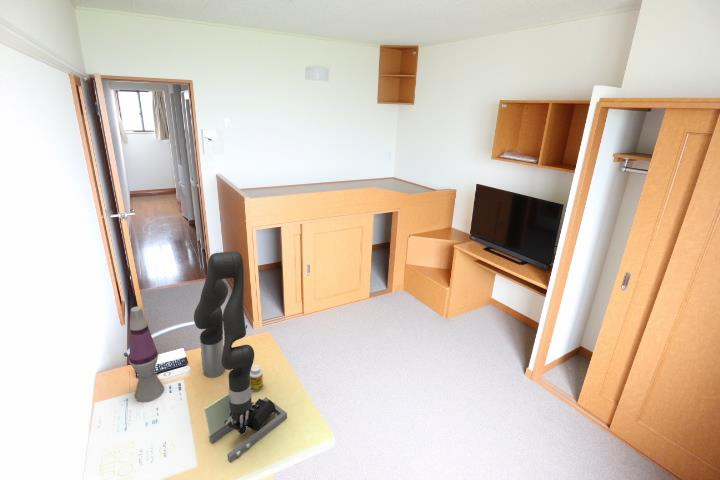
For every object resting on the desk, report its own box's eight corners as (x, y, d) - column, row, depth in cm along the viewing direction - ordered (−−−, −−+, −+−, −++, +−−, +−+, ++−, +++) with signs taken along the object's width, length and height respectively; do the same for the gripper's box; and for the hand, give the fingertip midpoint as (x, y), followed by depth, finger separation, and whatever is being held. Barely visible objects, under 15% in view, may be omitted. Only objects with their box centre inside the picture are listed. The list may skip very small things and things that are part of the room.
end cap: (260, 434, 140) (259, 420, 138) (244, 427, 143) (244, 413, 140) (275, 415, 149) (275, 401, 146) (261, 409, 151) (260, 395, 149)
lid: (211, 437, 134) (209, 436, 135) (234, 421, 142) (232, 419, 142) (205, 409, 131) (203, 407, 132) (229, 393, 139) (227, 392, 139)
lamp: (162, 399, 153) (149, 314, 139) (132, 404, 149) (116, 317, 135) (165, 381, 162) (154, 299, 148) (137, 385, 158) (122, 303, 144)
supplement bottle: (249, 392, 159) (248, 373, 156) (249, 383, 164) (248, 364, 161) (262, 391, 160) (262, 371, 157) (262, 382, 165) (262, 363, 162)
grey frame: (209, 441, 136) (209, 436, 135) (266, 401, 155) (266, 396, 154) (231, 463, 128) (231, 458, 128) (288, 418, 148) (288, 413, 147)
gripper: (249, 380, 140) (250, 416, 146) (217, 400, 130) (220, 438, 136) (262, 390, 136) (263, 427, 142) (230, 411, 126) (232, 450, 132)
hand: (242, 432), depth 139 cm, fingers closed
